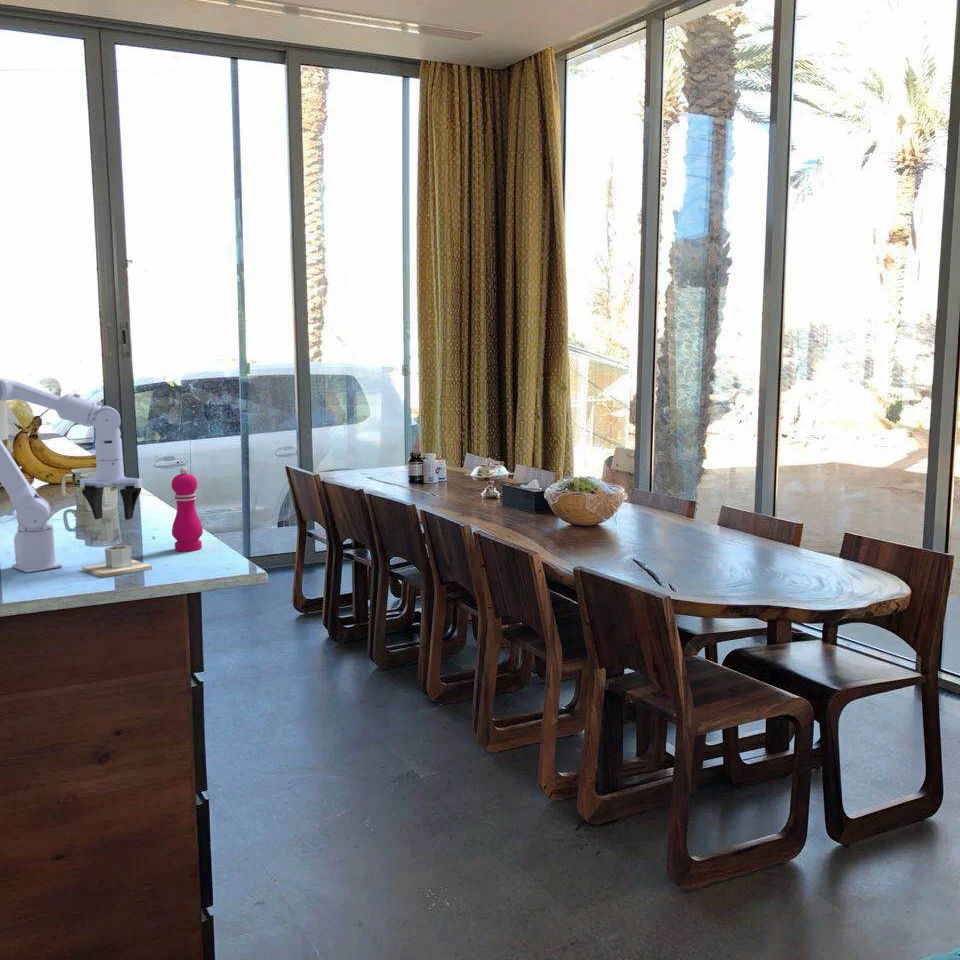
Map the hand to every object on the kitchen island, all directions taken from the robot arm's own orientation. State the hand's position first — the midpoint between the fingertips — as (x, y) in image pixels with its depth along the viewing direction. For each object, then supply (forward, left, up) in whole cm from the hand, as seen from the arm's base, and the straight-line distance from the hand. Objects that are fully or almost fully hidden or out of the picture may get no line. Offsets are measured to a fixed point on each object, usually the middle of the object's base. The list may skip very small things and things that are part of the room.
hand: (113, 518), depth 226 cm
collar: (+9, -3, -9) cm, 13 cm away
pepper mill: (0, +18, -10) cm, 21 cm away
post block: (+9, -4, -10) cm, 14 cm away
